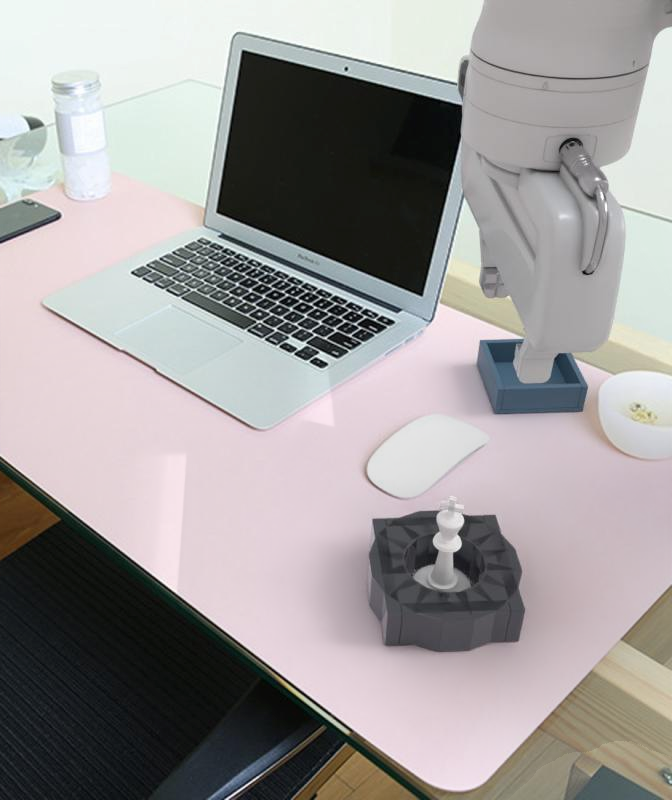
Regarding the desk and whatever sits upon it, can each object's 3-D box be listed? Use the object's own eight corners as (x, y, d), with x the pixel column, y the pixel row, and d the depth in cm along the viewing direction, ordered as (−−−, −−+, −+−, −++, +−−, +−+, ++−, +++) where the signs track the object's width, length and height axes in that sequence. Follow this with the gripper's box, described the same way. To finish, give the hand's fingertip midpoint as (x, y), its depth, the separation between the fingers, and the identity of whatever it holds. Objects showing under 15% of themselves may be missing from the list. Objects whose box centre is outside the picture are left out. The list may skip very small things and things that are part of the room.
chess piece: (465, 624, 72) (480, 528, 66) (402, 607, 74) (411, 512, 68) (477, 578, 76) (493, 484, 70) (417, 563, 77) (427, 469, 71)
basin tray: (558, 361, 100) (563, 337, 98) (582, 411, 93) (588, 386, 91) (476, 363, 100) (479, 339, 98) (494, 414, 93) (498, 389, 91)
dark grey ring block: (497, 538, 79) (502, 507, 77) (530, 648, 70) (537, 617, 68) (360, 543, 79) (362, 512, 77) (376, 654, 70) (379, 622, 68)
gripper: (683, 190, 42) (617, 437, 50) (556, 49, 58) (522, 252, 66) (540, 192, 41) (497, 440, 50) (453, 51, 58) (432, 254, 66)
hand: (510, 331), depth 58 cm, fingers open, 8 cm apart
